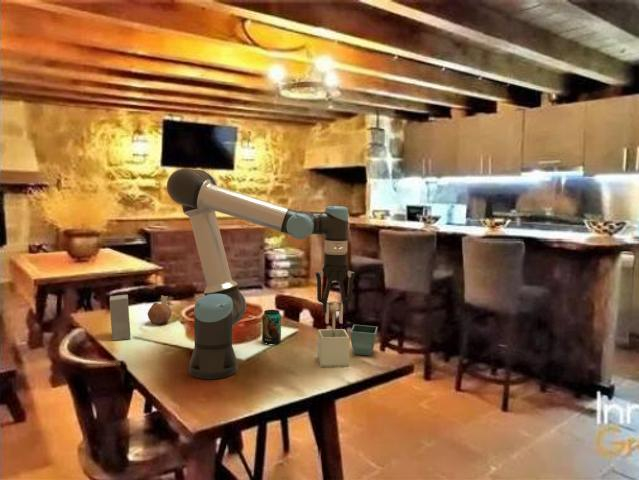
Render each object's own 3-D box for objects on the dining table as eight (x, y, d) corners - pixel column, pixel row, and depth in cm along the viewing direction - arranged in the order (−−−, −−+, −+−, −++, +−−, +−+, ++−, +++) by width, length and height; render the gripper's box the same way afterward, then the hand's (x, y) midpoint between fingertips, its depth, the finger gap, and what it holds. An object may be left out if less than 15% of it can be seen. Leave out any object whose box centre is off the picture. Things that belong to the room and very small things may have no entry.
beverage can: (258, 344, 178) (259, 312, 177) (266, 338, 185) (267, 308, 184) (276, 346, 176) (276, 314, 175) (283, 340, 183) (284, 310, 181)
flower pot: (374, 358, 166) (375, 333, 165) (349, 356, 168) (350, 331, 167) (376, 350, 175) (377, 326, 174) (352, 348, 176) (353, 324, 175)
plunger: (324, 360, 157) (325, 305, 156) (321, 353, 164) (323, 300, 162) (344, 359, 158) (345, 305, 156) (340, 353, 165) (342, 300, 163)
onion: (151, 330, 202) (141, 308, 202) (171, 321, 207) (161, 300, 207) (157, 327, 194) (147, 305, 194) (178, 318, 200) (168, 296, 200)
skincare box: (130, 339, 179) (129, 298, 178) (109, 341, 177) (108, 299, 175) (130, 333, 187) (129, 293, 186) (110, 334, 185) (109, 294, 183)
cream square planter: (320, 367, 156) (321, 337, 155) (317, 357, 165) (318, 329, 164) (348, 366, 157) (349, 337, 156) (343, 357, 166) (344, 329, 165)
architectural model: (168, 309, 226) (168, 294, 226) (174, 312, 221) (174, 297, 220) (161, 310, 224) (161, 295, 223) (167, 313, 219) (167, 298, 218)
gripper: (311, 254, 153) (309, 325, 155) (363, 254, 155) (361, 325, 157) (308, 251, 160) (307, 319, 162) (358, 251, 162) (356, 319, 165)
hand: (333, 322), depth 160 cm, fingers closed on plunger, 4 cm apart
